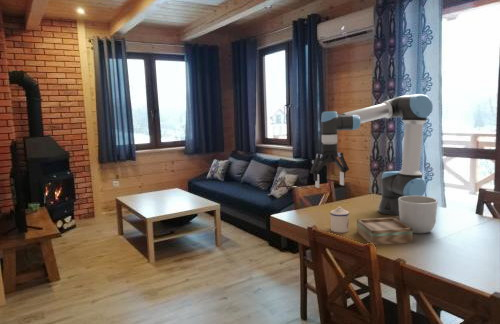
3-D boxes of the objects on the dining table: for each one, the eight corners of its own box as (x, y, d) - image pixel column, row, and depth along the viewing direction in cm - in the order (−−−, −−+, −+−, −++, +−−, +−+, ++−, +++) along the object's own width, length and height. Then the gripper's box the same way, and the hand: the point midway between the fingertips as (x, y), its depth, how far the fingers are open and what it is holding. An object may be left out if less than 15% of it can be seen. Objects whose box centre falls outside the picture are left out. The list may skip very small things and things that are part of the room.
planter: (442, 229, 179) (443, 198, 177) (429, 238, 167) (429, 205, 165) (406, 223, 190) (406, 194, 189) (391, 231, 179) (392, 200, 177)
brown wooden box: (393, 229, 181) (393, 217, 180) (412, 242, 163) (412, 228, 162) (356, 232, 180) (356, 219, 179) (371, 244, 162) (371, 230, 161)
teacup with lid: (351, 232, 179) (351, 208, 178) (332, 233, 179) (332, 209, 178) (344, 225, 191) (344, 202, 190) (326, 226, 191) (326, 203, 190)
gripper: (347, 141, 191) (347, 182, 193) (302, 144, 184) (303, 187, 186) (356, 142, 184) (356, 185, 186) (309, 145, 176) (310, 189, 179)
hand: (329, 186), depth 186 cm, fingers open, 13 cm apart
